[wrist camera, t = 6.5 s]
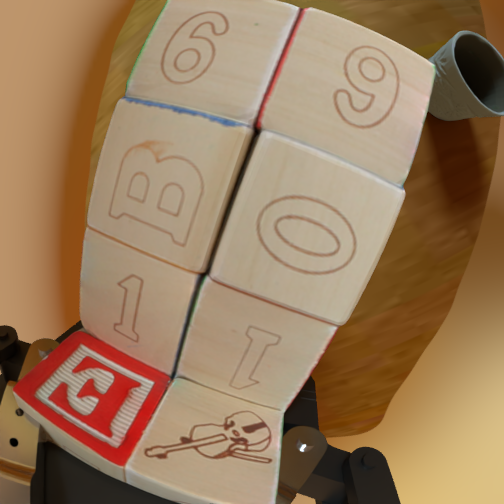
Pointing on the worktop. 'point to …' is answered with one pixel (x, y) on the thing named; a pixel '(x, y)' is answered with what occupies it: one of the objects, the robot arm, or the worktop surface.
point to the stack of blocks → (228, 241)
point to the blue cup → (467, 79)
